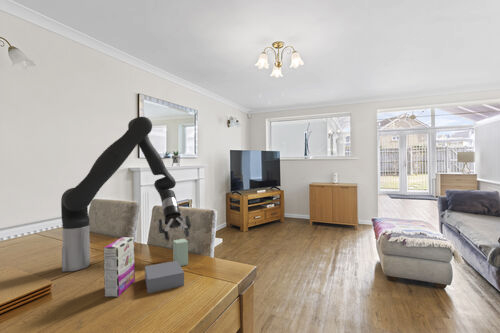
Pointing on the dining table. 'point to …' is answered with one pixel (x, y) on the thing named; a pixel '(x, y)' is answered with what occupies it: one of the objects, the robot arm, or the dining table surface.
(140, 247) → the dining table surface
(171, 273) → the base block
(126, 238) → the candy bar box
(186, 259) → the sage block
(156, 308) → the dining table surface
